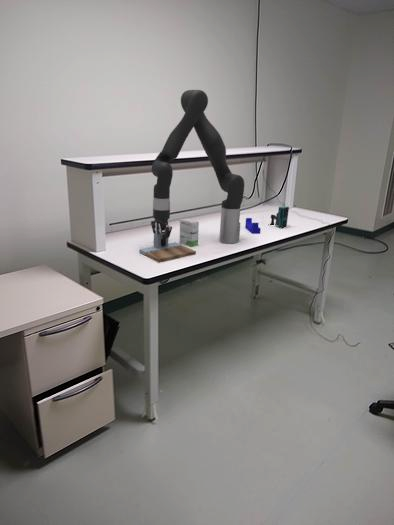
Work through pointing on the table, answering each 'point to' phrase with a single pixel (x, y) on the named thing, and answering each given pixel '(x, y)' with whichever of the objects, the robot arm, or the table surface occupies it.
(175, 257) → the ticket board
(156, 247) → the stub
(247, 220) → the blue bent block
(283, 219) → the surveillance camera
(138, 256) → the table surface
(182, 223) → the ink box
